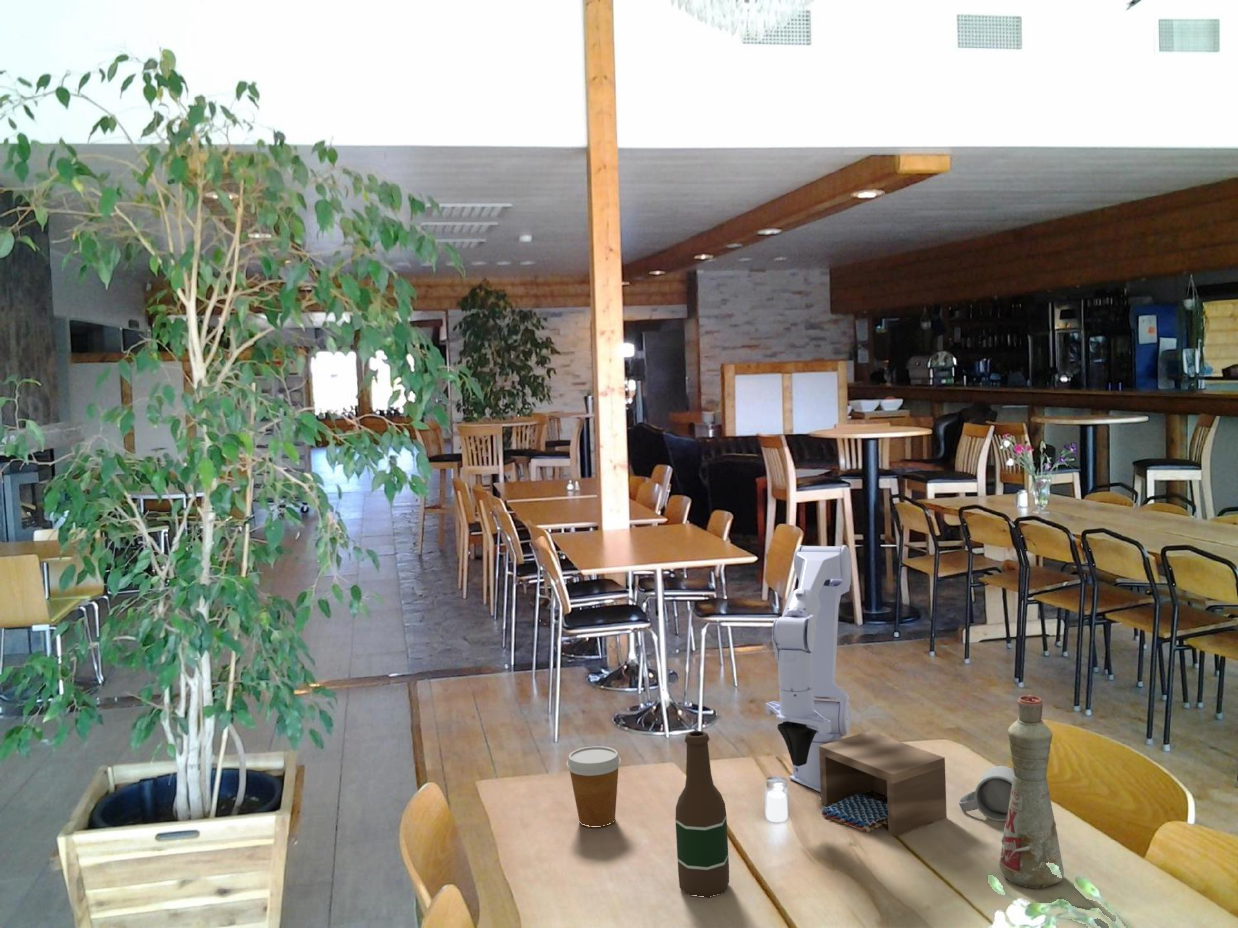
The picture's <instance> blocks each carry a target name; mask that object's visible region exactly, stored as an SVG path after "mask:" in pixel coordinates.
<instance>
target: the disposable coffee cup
mask: <svg viewBox="0 0 1238 928" xmlns="http://www.w3.org/2000/svg"><path fill="white" fill-rule="evenodd" d="M621 762H622V759H621V757H620V756H619V754H618V751H617V750H616V749H614V748H612V747H608V746H602V745H601V746H600V745H599V746H598V745H597V746H595V745H594V746H587V747H586V746H585V747H580V748H578V749H575V750H573V751H572V752H570V753H569V754H568V760H567V761H566V766H567V768H568V770H569V774H570V778H571V786H572V789H573V795H574V800H575V804H576V805H575V807H576V810H577V811H576V812H577V816H578V822H579V821H580V822H581V823H582V824H585V825H589V826H603V825H607V824H609V823H612V822H613V821H614V820H615V821H616V810H617V796H618V795H617V794H618V783H619V782H618V781H619V780H618V779H619V767H620V765H621ZM615 821H614V822H615ZM580 822H579V823H580ZM614 822H613V823H614ZM613 823H612V824H613Z"/></svg>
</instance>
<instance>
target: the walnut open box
mask: <svg viewBox="0 0 1238 928" xmlns="http://www.w3.org/2000/svg"><path fill="white" fill-rule="evenodd" d="M819 758H820V782H821V792H820V803H821V805H822V804H823V806H826V807H828V806H831V805H833V804H836V803H837V802H841V801H842V800H844V799H846V798H850V797H852V796H853V795H857V794H858V793H860V794H861V795H862V796H863V795H866V794H867V793H870V792H876V793H878V794H880V795H882V796H885V797H886V798H887V803H888V821H887V822H888V824H887V825H888V826H887V827H888V834H889V835H891V836H894V837H897V836H900V835H903V834H906V833H909V832H910V831H914V830H916V829H919V828H923V827H925V826H928V825H931V824H933V823H935V822H939V821H941V820H944V819H947V818H948V817H947V816H948V815H947V790H946V789H947V786H946V785H947V784H946V757H945V756H941V755H938V754H936V753H933V752H930V751H927V750H924V749H921V748H919V747H915V746H912V745H909V744H908V743H904V742H901V741H899V740H896V739H893V738H890V737H887V736H883V735H881V734H879V733H875V732H873V731H870V730H869V731H865V732H862V733H858V734H855V735H851V736H847V737H846V738H845V737H844V738H842V739H841V740H838V741H834V742H831V743H827V744H824V745H821V746H819Z"/></svg>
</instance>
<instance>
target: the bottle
mask: <svg viewBox="0 0 1238 928" xmlns="http://www.w3.org/2000/svg"><path fill="white" fill-rule="evenodd" d="M1017 704H1018V707H1017V708H1018V718H1017V719H1016V721H1014V722H1013V723H1012V724H1011V725H1010V726H1009V728H1008V729H1007V735H1008V740H1009V748H1010V757H1011V761H1012V769H1013V772H1014V776H1013V782H1012V788H1011V795H1010V801H1009V808H1008V813H1007V819H1006V821H1005V824H1004V830H1003V835H1002V838H1001V840H1000V842H1001V843H1002V845H1001V852H1000V860H999V863H998V865H999V870H1000V872H1001V874H1002V875H1003V876H1004V877H1005V879H1007V880H1008V881H1009V882H1011V883H1013V884H1016V885H1019V886H1021V887H1026V888H1029V889H1030V888H1032V889H1036V890H1037V889H1039V888H1040V889H1041V888H1043V889H1044V888H1046V887H1050V886H1053V885H1056V884H1058V883H1060V882H1061V881H1062V880H1063V879H1064V876H1065V875H1064V874H1065V870H1064V865H1063V859H1062V854H1061V849H1060V848H1061V847H1060V842H1059V837H1058V831H1057V826H1056V825H1057V823H1056V820H1055V816H1054V811H1053V805H1052V800H1051V794H1050V789H1049V784H1048V778H1047V776H1048V765H1049V760H1050V753H1051V745H1052V741H1053V740H1052V739H1053V731H1052V730H1051V728H1050V727H1049V726H1048V725H1047V724H1046V723H1044V721H1043V719H1042V716H1043V706H1044V705H1043V704H1044V702H1043V700H1042V699H1041V697H1038V696H1036V695H1032V694H1029V695H1021V696H1019V697H1018V699H1017ZM1048 862H1049V863H1054V864H1055V865H1057V866H1059V870H1060V872H1061V875H1062V878H1059V877H1057V875H1054V874H1052V872H1051V870H1050V868H1049V867H1048V866H1047V865H1046V863H1048Z"/></svg>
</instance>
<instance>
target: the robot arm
mask: <svg viewBox="0 0 1238 928" xmlns="http://www.w3.org/2000/svg"><path fill="white" fill-rule="evenodd" d="M851 555H852V553H851V551H850V549H849V547H848V546H847V545H842V546H836V545H835V546H831V545H830V546H829V545H827V546H825V545H821V546H820V545H802V544H799V545H798V546H797V548H796V549H795V550H794V556H793V568H794V573H795V575H796V577H797V580H798V586H797V589H795V590H793V591H792V592H790V594H789V596H788V599H787V601H786V604H785V606H784V610H783V611H782V615H781V616H779V617H778V619H774V621H773V623H772V630H771V639H772V640H771V641H772V646H773V650H774V659H775V662H777V668H778V669H777V670H778V673H777V674H778V690H779V691H778V692H779V694H778V695H779V701H775V700H773V701H769V702H765V714H766V715H768V716H772V715H773V716H776V720H777V721H779V722H781V723H778V724H777V730H778V732H779V733H780V734H781V736H782V738H783V740H784V742H785V745H786V747H787V750H788V753H789V757H790V760H791V764H792V775H789V779H790V781H791V780H792V781H794V782H797V783H799V784H801V785H803V786H806V787H807V788H810V789H812V790H815V791H817V792H819V793H821V782H820V758H819V746H821V745H824V744H827V743H831V742H834V741H838V740H841V739H843V737H846V736H847V734H849V732H850V730H851V721H852V719H851V718H852V713H851V707H850V706H851V705H850V704H851V700H850V699H851V698H850V697H849V694H848V692H847V691H846V690H844V689H843V688H841V686H839V685H838V684H837V683H836V677H837V676H836V673H837V671H836V670H837V653H838V651H837V650H838V628H839V626H838V625H839V610H840V609H839V607H840V603H841V598H842V595H844V594H846V593H848V592H850V586H851V583H852V556H851ZM816 699H817V700H816ZM818 699H819V700H818ZM820 699H822V700H820ZM834 700H837V701H834Z"/></svg>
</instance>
